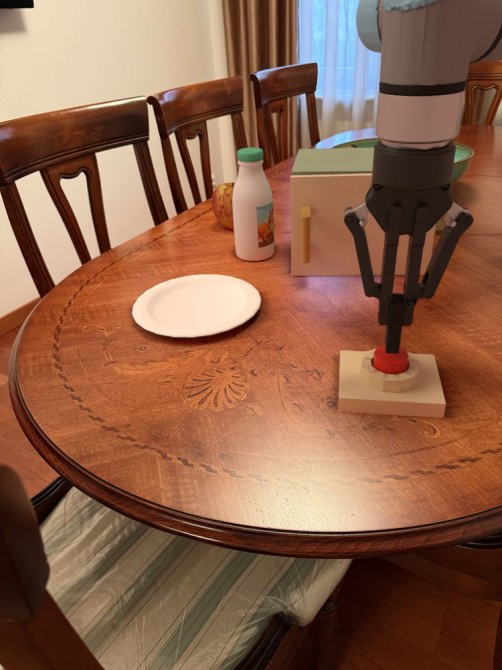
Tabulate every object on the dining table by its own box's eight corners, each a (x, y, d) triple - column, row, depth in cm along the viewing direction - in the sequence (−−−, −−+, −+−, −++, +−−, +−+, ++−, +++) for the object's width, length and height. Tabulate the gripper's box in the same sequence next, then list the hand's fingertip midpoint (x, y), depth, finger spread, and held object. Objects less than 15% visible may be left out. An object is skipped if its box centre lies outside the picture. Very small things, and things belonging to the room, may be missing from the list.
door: (435, 289, 86) (451, 182, 77) (290, 289, 89) (289, 186, 79) (427, 272, 92) (442, 171, 82) (291, 273, 94) (290, 175, 85)
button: (405, 357, 64) (407, 345, 64) (408, 376, 61) (410, 364, 60) (372, 355, 65) (373, 343, 64) (373, 374, 62) (374, 362, 61)
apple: (226, 217, 122) (222, 174, 116) (261, 221, 118) (259, 177, 113) (207, 231, 115) (202, 186, 109) (243, 236, 111) (240, 189, 106)
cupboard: (427, 272, 92) (442, 169, 82) (292, 270, 96) (291, 171, 86) (417, 238, 105) (429, 146, 96) (299, 237, 109) (298, 148, 99)
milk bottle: (245, 265, 99) (238, 157, 88) (229, 251, 105) (221, 148, 94) (281, 256, 101) (279, 150, 90) (264, 243, 107) (260, 142, 96)
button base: (431, 368, 68) (436, 342, 66) (443, 418, 60) (448, 391, 58) (339, 363, 70) (340, 338, 68) (338, 412, 62) (339, 385, 60)
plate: (259, 278, 93) (259, 270, 92) (264, 341, 76) (263, 331, 75) (144, 285, 94) (142, 276, 93) (122, 349, 76) (120, 339, 75)
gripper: (479, 130, 51) (443, 332, 64) (345, 132, 53) (336, 328, 66) (497, 147, 45) (454, 368, 58) (345, 150, 47) (335, 362, 60)
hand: (391, 346), depth 62 cm, fingers closed
